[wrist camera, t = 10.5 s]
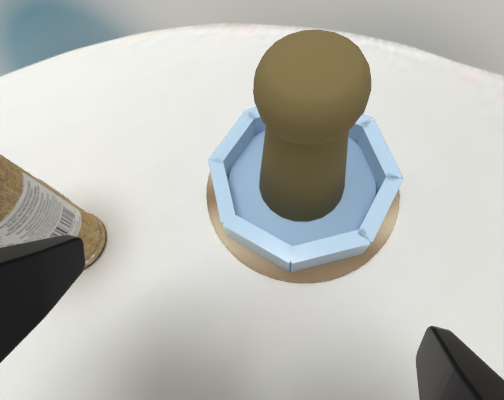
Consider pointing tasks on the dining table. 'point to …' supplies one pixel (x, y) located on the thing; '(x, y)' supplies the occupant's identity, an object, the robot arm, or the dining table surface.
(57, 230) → the sprinkles bottle
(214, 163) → the bowl
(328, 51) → the cork
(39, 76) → the dining table surface
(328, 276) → the placemat
